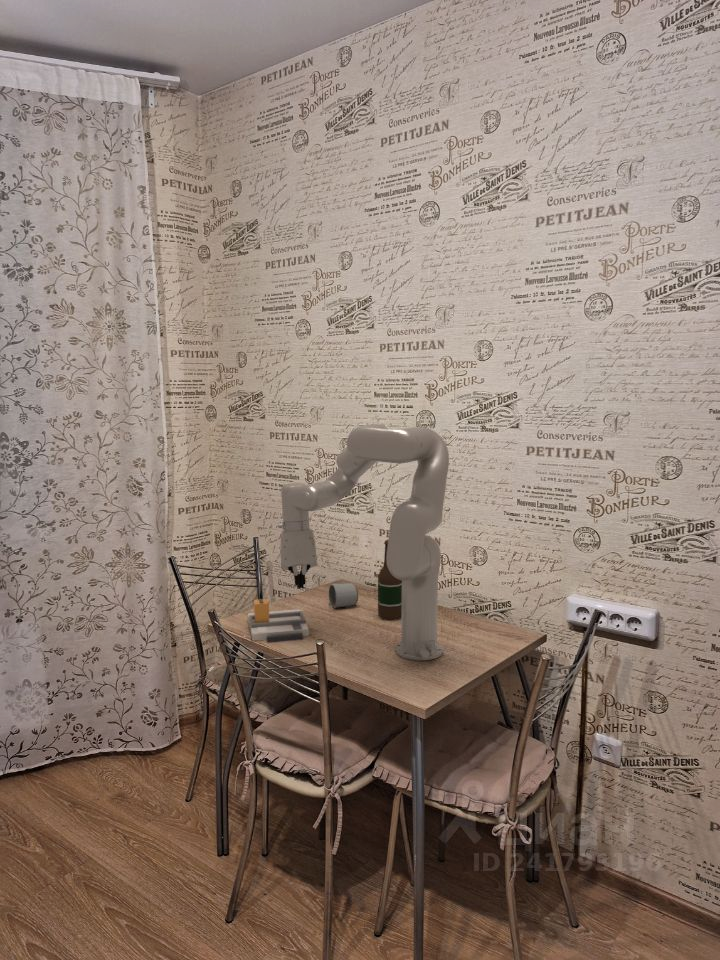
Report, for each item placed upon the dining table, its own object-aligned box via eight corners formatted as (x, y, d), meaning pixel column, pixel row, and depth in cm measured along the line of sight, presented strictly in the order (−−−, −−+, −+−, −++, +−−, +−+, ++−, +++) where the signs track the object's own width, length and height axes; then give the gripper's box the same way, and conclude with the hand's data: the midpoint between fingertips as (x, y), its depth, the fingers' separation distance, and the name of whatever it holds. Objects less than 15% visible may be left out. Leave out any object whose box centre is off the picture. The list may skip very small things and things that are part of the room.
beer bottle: (401, 621, 206) (401, 543, 203) (376, 620, 207) (375, 543, 204) (404, 612, 214) (404, 538, 210) (379, 611, 215) (379, 537, 212)
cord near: (302, 639, 192) (302, 634, 192) (267, 642, 190) (267, 637, 190) (302, 637, 194) (302, 632, 194) (266, 640, 192) (266, 635, 191)
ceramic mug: (359, 607, 219) (359, 584, 218) (336, 611, 216) (335, 587, 215) (347, 598, 229) (347, 576, 228) (324, 602, 226) (324, 579, 225)
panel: (308, 635, 195) (308, 625, 195) (252, 641, 191) (251, 630, 191) (300, 615, 212) (299, 606, 212) (248, 619, 209) (247, 610, 208)
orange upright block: (269, 623, 199) (268, 602, 198) (255, 624, 198) (254, 603, 197) (267, 618, 203) (267, 597, 202) (254, 619, 202) (253, 598, 201)
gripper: (271, 530, 193) (276, 593, 195) (323, 525, 196) (327, 587, 198) (269, 526, 200) (273, 587, 202) (319, 521, 203) (323, 581, 206)
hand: (300, 587), depth 200 cm, fingers closed
